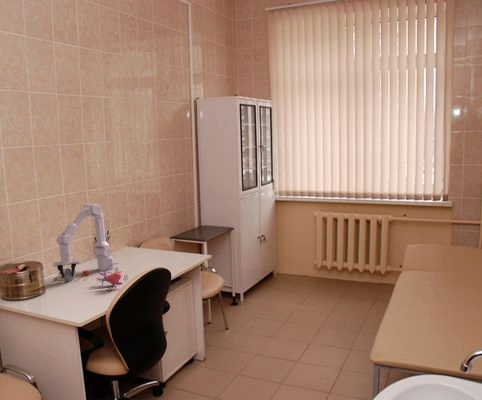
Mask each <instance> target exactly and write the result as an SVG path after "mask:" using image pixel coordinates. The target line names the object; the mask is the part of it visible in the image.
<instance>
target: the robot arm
mask: <svg viewBox="0 0 482 400" xmlns="http://www.w3.org/2000/svg"><path fill="white" fill-rule="evenodd" d="M90 216H91V217H93V220H94V229H95V237H96V238H95V239H96V242H95V244H94V249H93V253H94V255H95V257H96V258H97V259H96V260H97V267H98V271H102V272H104V271H105V270H106V269H107V268H108V267H109V266H110V265H111V264H113V265H111V266H110V267H109V268H108V269H107V270H106V271H110V270H111V271H112V270H114V268H115V266H114V265H115V264H114V258H113V255H111V254H112V250H111V249H112V248H110V244H109V243H108V242H107V239H106V229H105V221H104V212H103V211H102V206H100V205H99V204H98V203H89V202H85V203H83V205H82V206H81V208H80V211H79V212H78V214H77V215H76V217H75V219H74V220H73V222H71V223H68V224H67V225H66V228H65V229H64V230H63V231H62V232H61V233H60V234H59V235H57V237H56V239H55V240H56V243H57V244H58V247H59V256H60V261H57V262H53V263H52V265H53V266H52V267H54V268H55V267H57V270H58V271H59V272H60V273H61V275H62V278H64V272H63V269H64V266H69V265H70V269H71V270H72V277H74V270H75V271H76V266H77V265H80V264H81V260H80V259H78V260H77V259H72V253H71V244H70V243H71V242H72V238H73V236H74V235H75V234H76V232H77V231H78V230H79V229H78V226H80V224H81V223H82V222H83V221H84V219H85V218H86V217H90Z"/></svg>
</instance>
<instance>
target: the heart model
mask: <svg viewBox="0 0 482 400" xmlns="http://www.w3.org/2000/svg"><path fill="white" fill-rule="evenodd" d="M111 265H114V263H113V264H111ZM111 265H110V266H111ZM115 265H119V263H115ZM110 266H109V267H110ZM109 267H108V268H109ZM108 268H107V269H108ZM107 269H106V270H104V271H100V270H98V271H97V274H99V275H101V276H103V278H101V277H100V276H98V277H96V280H97V281H98V282H99V283H101V285H102V287H103V286H104V282H108V283H110V286H108V287H107V290H108V291H109V292H112V290H113V289H114V288H113V287H112V286H115V287H118V286H119V285H123V282H122V281H121V282H119V281H120V280H121V279H122V274H121V273H122V270H121V271H118V270H119V269H118V267H113V271H115V272H113V273H112V272H110V271H108V270H107ZM128 278H129V277H128V275H127V274H126V275H125V276H124V277H123V280H124V282H126V281H127V280H128ZM116 285H117V286H116Z"/></svg>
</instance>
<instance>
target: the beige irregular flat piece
mask: <svg viewBox="0 0 482 400" xmlns="http://www.w3.org/2000/svg"><path fill="white" fill-rule="evenodd" d="M71 272H72V270H71ZM76 275H77V273H76V269H75V270H74V277H72V281H71V282H70V283H75V282H85V281H91V279H92V278H91V277H89V275H90V274H89V269H88V270H87V269H86V270H83V271H82V275H83V277H84V278H83V277H82V278H75V277H76ZM65 283H66V284H67V283H69V282H65V274H64V278H62V275H61V273H60V271H59V272H58V273H57V280H56V281H55V282H54V285H57V284H58V285H59V284H65Z"/></svg>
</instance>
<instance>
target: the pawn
mask: <svg viewBox="0 0 482 400" xmlns="http://www.w3.org/2000/svg"><path fill="white" fill-rule="evenodd" d="M66 268H67V269H66V270H65V280H64V282H68V283H72V282H73V281H72V280H73V279H72V272H71V268H70V269H69V267H66ZM71 281H72V282H71Z"/></svg>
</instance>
